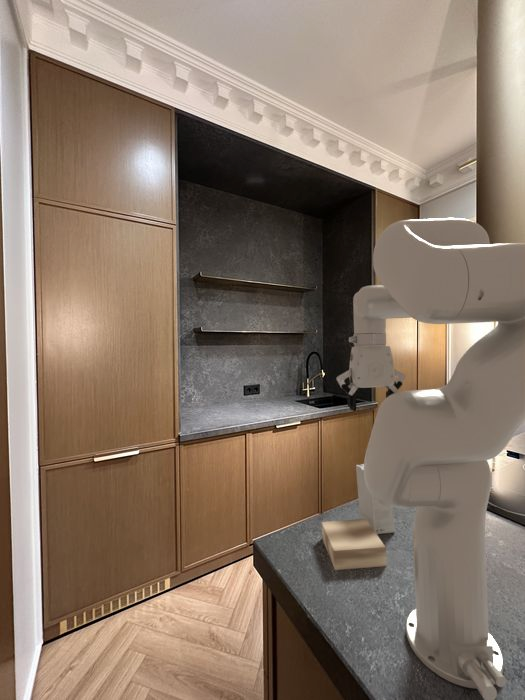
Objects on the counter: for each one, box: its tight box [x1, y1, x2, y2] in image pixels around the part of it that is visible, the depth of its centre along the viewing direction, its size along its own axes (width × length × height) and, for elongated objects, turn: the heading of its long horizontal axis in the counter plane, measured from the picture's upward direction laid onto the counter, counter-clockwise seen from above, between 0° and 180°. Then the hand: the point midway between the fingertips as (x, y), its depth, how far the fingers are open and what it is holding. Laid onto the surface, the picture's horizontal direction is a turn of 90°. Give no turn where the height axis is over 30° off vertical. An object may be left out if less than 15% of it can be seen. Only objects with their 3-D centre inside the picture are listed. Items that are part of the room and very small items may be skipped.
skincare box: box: [355, 463, 396, 535], centre depth 81 cm, size 8×6×15 cm
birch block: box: [321, 518, 387, 571], centre depth 71 cm, size 11×11×4 cm
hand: (371, 408), depth 79 cm, fingers open, 9 cm apart
